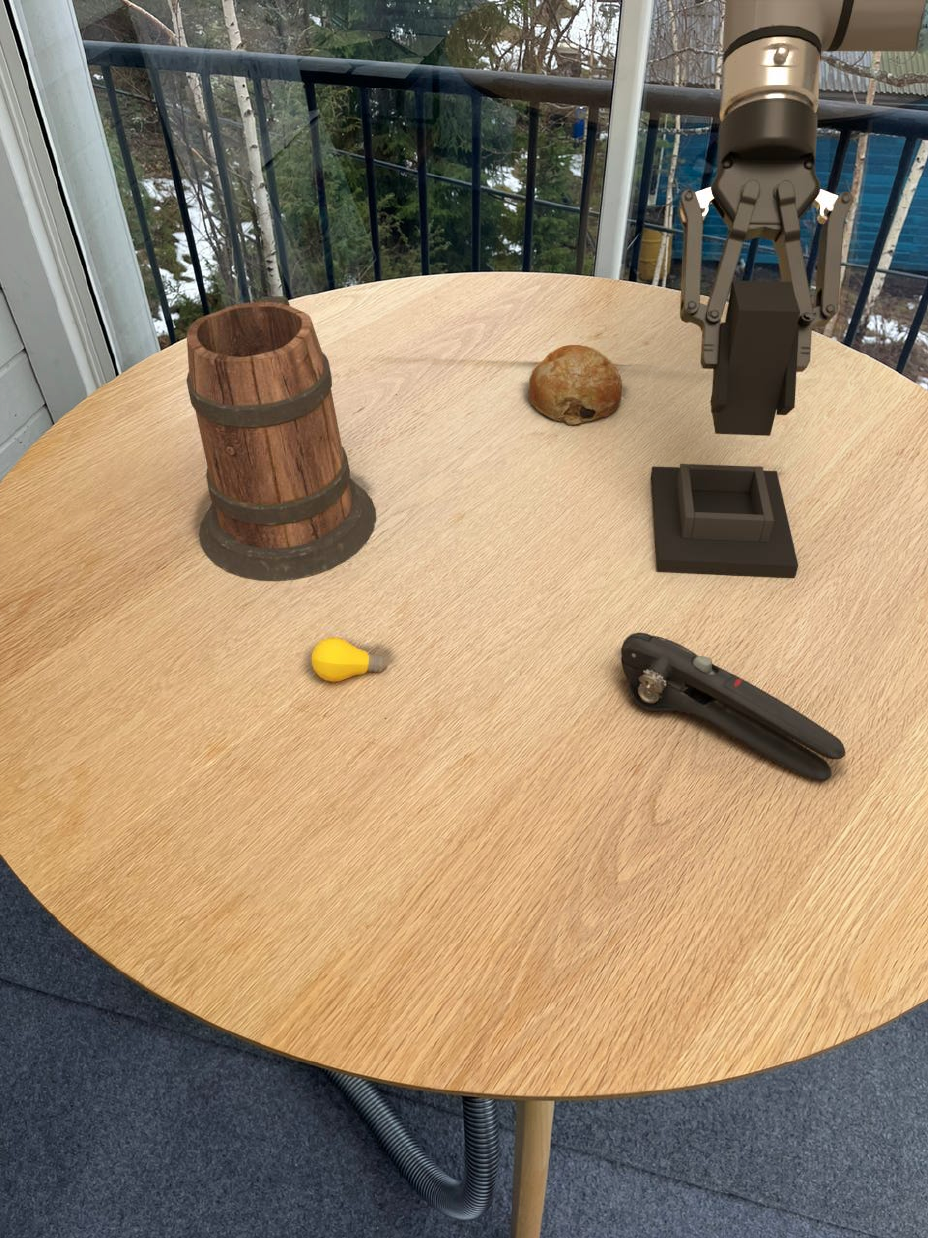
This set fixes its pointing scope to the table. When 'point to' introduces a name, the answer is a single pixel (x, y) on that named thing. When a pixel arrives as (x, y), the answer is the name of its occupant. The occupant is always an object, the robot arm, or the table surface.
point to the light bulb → (343, 660)
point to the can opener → (725, 704)
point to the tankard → (272, 445)
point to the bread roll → (575, 385)
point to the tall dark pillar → (757, 354)
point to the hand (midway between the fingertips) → (751, 409)
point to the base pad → (721, 521)
